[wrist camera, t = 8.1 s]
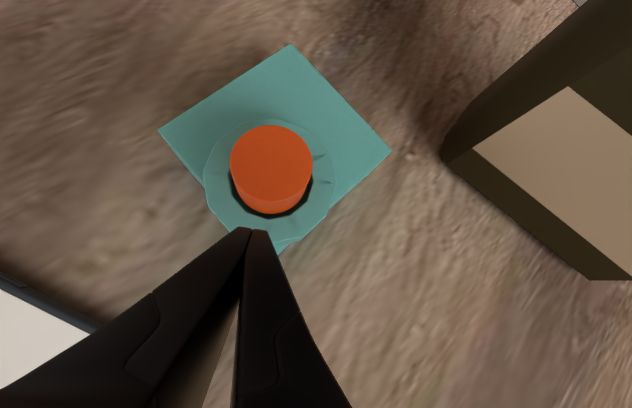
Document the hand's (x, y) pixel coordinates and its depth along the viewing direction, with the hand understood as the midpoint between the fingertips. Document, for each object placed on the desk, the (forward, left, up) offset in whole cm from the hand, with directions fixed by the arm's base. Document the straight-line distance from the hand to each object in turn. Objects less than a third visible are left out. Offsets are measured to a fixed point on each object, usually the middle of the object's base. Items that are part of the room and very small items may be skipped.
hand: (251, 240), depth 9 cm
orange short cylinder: (+3, +2, -6) cm, 7 cm away
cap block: (+5, +4, -12) cm, 14 cm away
